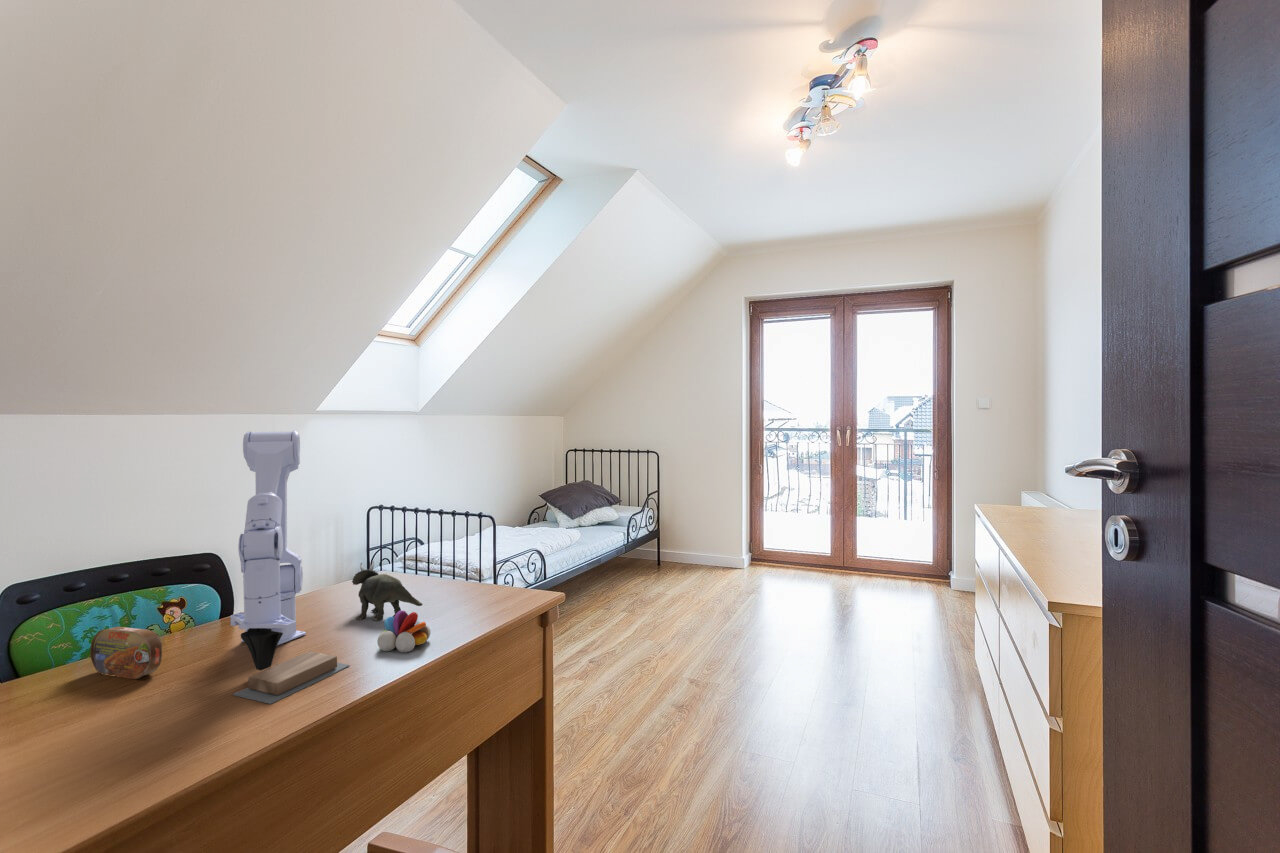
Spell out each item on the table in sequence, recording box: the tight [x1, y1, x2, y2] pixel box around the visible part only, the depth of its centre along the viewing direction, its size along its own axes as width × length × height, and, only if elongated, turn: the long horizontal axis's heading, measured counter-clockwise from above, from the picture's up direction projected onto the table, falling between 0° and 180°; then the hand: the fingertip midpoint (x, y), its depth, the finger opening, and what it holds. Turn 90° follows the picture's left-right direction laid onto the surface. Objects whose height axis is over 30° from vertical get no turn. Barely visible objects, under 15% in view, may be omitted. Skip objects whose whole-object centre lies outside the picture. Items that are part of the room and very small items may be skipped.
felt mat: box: [232, 662, 351, 705], centre depth 108 cm, size 9×16×1 cm, turn 158°
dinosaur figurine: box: [351, 560, 424, 621], centre depth 142 cm, size 22×8×11 cm, turn 58°
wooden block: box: [247, 650, 338, 695], centre depth 108 cm, size 2×12×7 cm
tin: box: [89, 626, 163, 680], centre depth 111 cm, size 15×3×8 cm, turn 74°
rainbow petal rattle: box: [376, 610, 431, 653], centre depth 124 cm, size 8×10×7 cm
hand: (263, 667), depth 111 cm, fingers closed
